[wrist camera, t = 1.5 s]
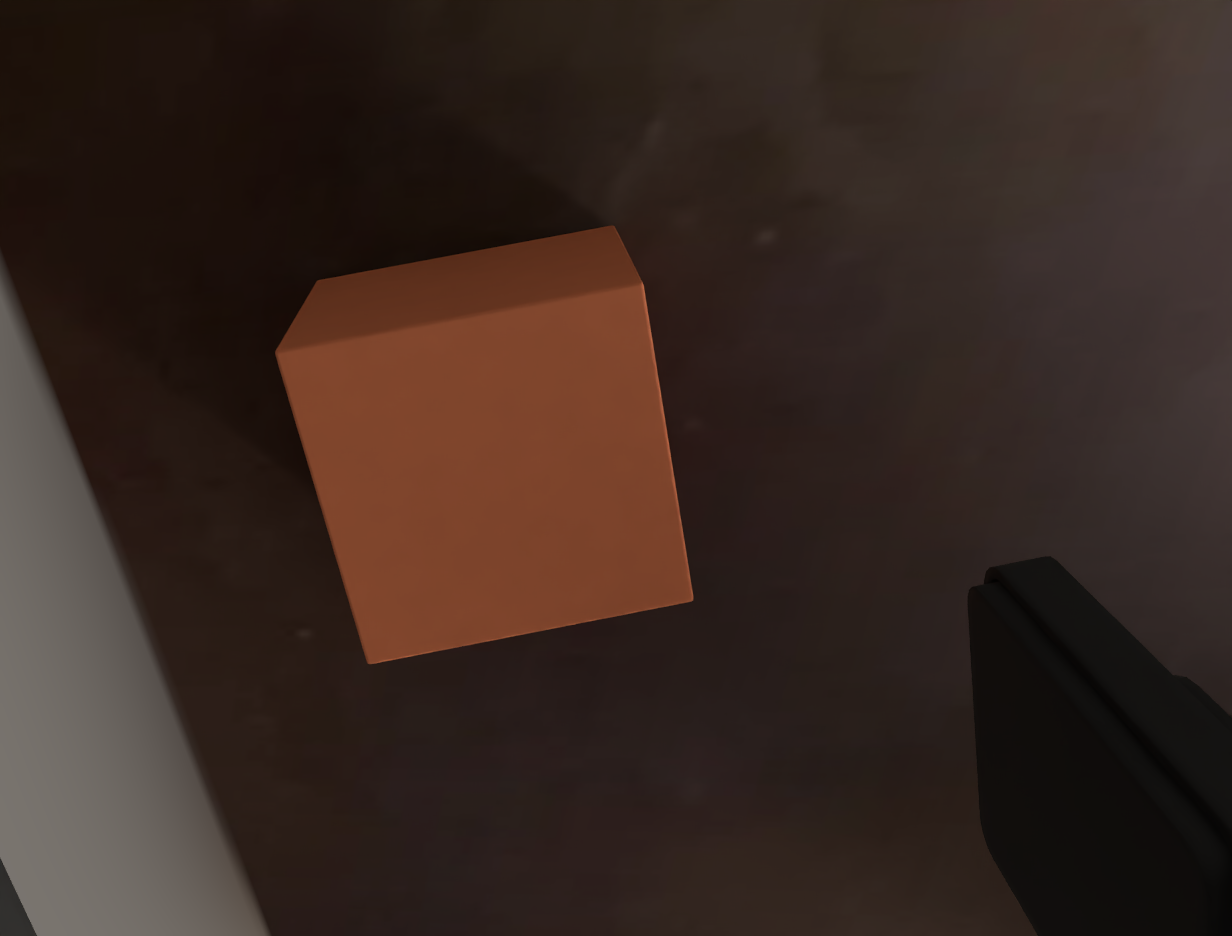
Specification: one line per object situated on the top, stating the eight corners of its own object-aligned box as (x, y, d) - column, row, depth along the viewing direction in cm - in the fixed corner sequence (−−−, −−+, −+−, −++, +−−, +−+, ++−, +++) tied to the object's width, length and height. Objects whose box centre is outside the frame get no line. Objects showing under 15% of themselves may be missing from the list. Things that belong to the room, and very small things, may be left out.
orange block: (315, 279, 19) (273, 351, 15) (614, 224, 19) (643, 280, 15) (389, 546, 21) (367, 666, 17) (659, 494, 21) (694, 602, 17)
